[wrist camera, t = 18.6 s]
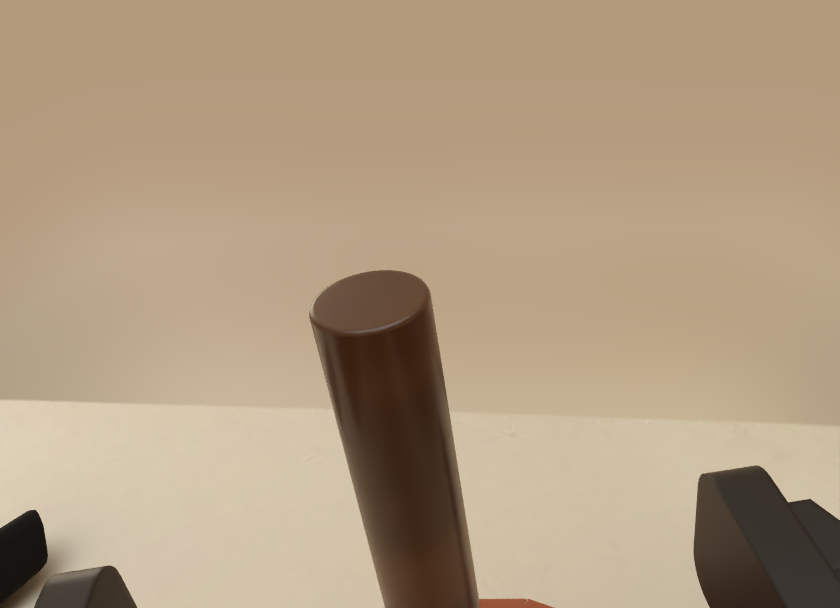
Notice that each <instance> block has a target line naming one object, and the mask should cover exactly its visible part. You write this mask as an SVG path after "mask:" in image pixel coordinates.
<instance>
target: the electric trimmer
mask: <svg viewBox="0 0 840 608" xmlns="http://www.w3.org/2000/svg"><path fill="white" fill-rule="evenodd" d="M47 557H48V554H47V545H46V539H45V533H44V527H43V524H42V521H41V518H40V516H39V514H38V512H37V511H36V510H30V511H27V512H25V513H24V514H22V515H21V516H19V517H18V518H16V519H14V520H13V521H11V522H10V523H8V524H6V525H5V526H3V527H2V528H0V605H1V604H2V603H3V602H4V601H5V600H6V599H8V598H9V597H10V596H11V595H12V594H13V593H15V592H16V591H17V590H18V589H19V588H20V587H22V586H23V585H24V584H25V583H26V582H27V581H28V580H30V579H31V578H32V577H33V576H34V575H35V574H37V573H38V572H39V571H40V570H41V569H42V567H43V566H44V565H45V564H46V562H47Z"/></svg>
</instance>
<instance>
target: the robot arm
mask: <svg viewBox="0 0 840 608" xmlns="http://www.w3.org/2000/svg"><path fill="white" fill-rule="evenodd" d="M694 561H695V567H696V571H697V576H698V579H699V583H700V586H701V589H702V591H703V594H704V596H705V598H706V600H707V603H708V605H709V607H710V608H840V520H838V519H837V518H836V517H834V516H833V515H832V514H830V513H829V512H827V511H826V510H825V509H823V508H822V507H820V506H819V505H818V504H816V503H815V502H814V501H812V500H811V499H808V500H801V501H795V502H789V503H788V502H787V500H786V499H785V497H784V496H783V495H782V493H781V492H780V490H779V489H778V487H777V486H776V484H775V483H774V481H773V480H772V478H771V477H770V476H769V474H768V473H767V472H766V471H765V470H764V469H763V468H762V467H760V466H750V467H744V468H737V469H731V470H725V471H718V472H712V473H706V474H702V475H701V476H700V478H699V482H698V493H697V507H696V522H695V536H694ZM34 608H137V606H136V604H135V602H134V600H133V599H132V597H131V595H130V593H129V591H128V589H127V587H126V585H125V583H124V581H123V579H122V577H121V575H120V574H119V572H118V571H117V570H116V568H114V567H113V566H104V567H98V568H91V569H85V570H79V571H72V572H66V573H60V574H55V575H53V576H51V577H50V578H49V579H48V580H47V582H46V583H45V585H44V587H43V589H42V591H41V593H40V595H39V598H38V600H37V602H36V604H35V607H34Z"/></svg>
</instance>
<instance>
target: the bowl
mask: <svg viewBox="0 0 840 608" xmlns="http://www.w3.org/2000/svg"><path fill="white" fill-rule="evenodd" d="M479 603H480V608H554V607H551V606H548V605H545V604H542V603H539V602H536V601H533V600H530V599H527V600H526V599H479Z"/></svg>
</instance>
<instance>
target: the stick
mask: <svg viewBox="0 0 840 608" xmlns="http://www.w3.org/2000/svg"><path fill="white" fill-rule="evenodd" d="M309 316H310V321H311V325H312V328H313V333H314V337H315V340H316V344H317V348H318V352H319V355H320V360H321V363H322V367H323V371H324V375H325V379H326V383H327V386H328V390H329V394H330V398H331V402H332V405H333V409H334V413H335V417H336V421H337V425H338V429H339V432H340V436H341V440H342V444H343V448H344V452H345V455H346V459H347V463H348V467H349V471H350V475H351V478H352V482H353V486H354V490H355V494H356V498H357V501H358V505H359V509H360V513H361V517H362V521H363V525H364V528H365V532H366V536H367V540H368V544H369V548H370V551H371V555H372V559H373V563H374V567H375V571H376V574H377V578H378V582H379V586H380V590H381V594H382V597H383V601H384V605H385V608H480V603H479V597H478V590H477V584H476V578H475V572H474V565H473V559H472V553H471V546H470V540H469V534H468V527H467V521H466V515H465V508H464V502H463V496H462V489H461V483H460V477H459V471H458V464H457V458H456V452H455V445H454V439H453V433H452V426H451V420H450V414H449V408H448V401H447V395H446V388H445V382H444V376H443V370H442V363H441V357H440V351H439V344H438V338H437V332H436V326H435V319H434V313H433V306H432V300H431V294H430V290H429V288H428V287H427V285H426V284H425V283H424V282H423V281H422V280H421V279H420V278H418V277H416V276H414V275H412V274H409V273H406V272H401V271H392V270H380V271H371V272H365V273H360V274H357V275H353V276H350V277H347V278H344V279H342V280H339V281H337V282H335V283H333V284H332V285H330V286H328V287H327V288H326V289H324V290H323V291H322V292H320V293H319V294H318V295H317V296H316V298H315V299H314V301H313V302H312V305H311V308H310V313H309Z"/></svg>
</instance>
